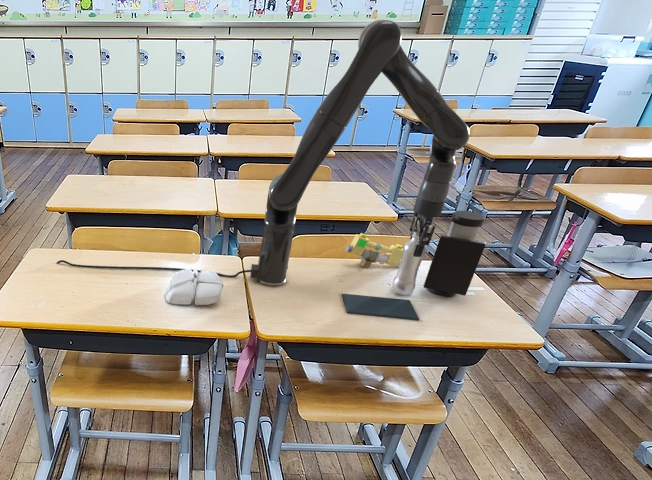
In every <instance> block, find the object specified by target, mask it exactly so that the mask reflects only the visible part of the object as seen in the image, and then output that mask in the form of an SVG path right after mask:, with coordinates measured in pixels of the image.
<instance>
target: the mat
mask: <svg viewBox="0 0 652 480" xmlns="http://www.w3.org/2000/svg"><path fill="white" fill-rule="evenodd" d="M341 297H342V299H343V303H344V307H345V311H346V313H347V314H353V315H363V316H370V317H371V316H372V317H381V318H391V319H400V320H401V319H402V320H412V321H419V320H420V318H419V316H418V314H417V312H416V310H415V308H414V306H413V304H412V302H411V301H410V299H403V298H395V297H394V298H393V297H383V296H371V295H361V294H351V293H342V294H341Z"/></svg>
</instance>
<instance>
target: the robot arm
mask: <svg viewBox="0 0 652 480" xmlns="http://www.w3.org/2000/svg"><path fill="white" fill-rule="evenodd" d="M401 42H402V29H401V28H400V25H398V23H397V22H395V21H393V20H389V19H378V20H374V21H372V22H370V23H368V24H367V25H365V27H364V28H363V29H362V30H361V32H360V34H359V37H358V41H357V49H358V50H357V52H356V54H355V56H354V57H353V59H352V61H351V63H350V65H349V67H348V68H347V70H346V71H345V73H344V75H343V76H342V77H341V78H340V79H339V81H338V82H337V83H336V85H334V86H333V88H332V89H331V90H330V91H329V93H328V94H327V95H326V96H325V98H324V99H323V100H322V102H321V103H320V104H319V106H318V107H317V109H316V110H315V112H314V113H313V116H312V117H311V119H310V120H309V122H308V124H307V126H306V128H305V130H304V132H303V135H302V137H301V139H300V141H299V144H298V147H297V148H296V152H295V154H294V156H293V158H292V160H291V162H289V164H288V165H287V167H286V169H285V171H284V172H282V173H280V174H279V173H278V174H277V175H276V176H274V178H273V179H272V180H271V182H270V183H269V187H268V192H267V199H266V207H265V214H264V223H263V231H262V237H261V242H260V243H261V244H260V249H259V254H258V255H259V256H258V261H257V264H256V263H255V264H254V263H251V266H250V269H244V270H240V271H238V272H237V273H235V274H232V275H229V274H227V275H226V274H223V273H220V272H216V273H217V275H218V276H219V277H223V278H237V277H238V276H239V275H241V274H245V273H250V278H251V279H255V280H256V281H255V282H256V283H257V284H262V285H265V286H269V287H279V286H282V285H285V283H286V280H287V273H288V269H289V261H290V255H291V250H292V244H293V238H294V235H295V234H294V233H295V227H296V219H297V210H298V206H299V203H300V201H301V199H302V197H303V195H304V193H305V191H306V189H307V187H308V185H309V183H310V182H311V180H312V178H313V176H314V175H315V173H316V171H318V168H319V167H320V166H321V164H322V163H323V162H324V161H325V159H326V158H327V157H328V155H329V154H330V152H331V151H332V149H333V148H334V147H335V145H336V143H338V141H339V140H340V138H341V137H342V135H343V134H344V132H345V130H346V128H347V127H348V125H349V123H350V122H351V120H352V119H353V117H354V116H355V114H356V113H357V111H358V109H359V107H360V106H361V103H362V102H363V100H364V99H365V96H366V95H367V93H368V91H369V90H370V88H371V87H372V85H373V84H374V82H375V81H376V80H377V79H378V77H379V76H380V75H381V74H383V75H384V77H385V78H386V79H387V80H388V81H389V82H390V83H391V85H392V86H393V87H394V88H395V89H396V91H397V92H398V94H399V95H400V96H401V98H402V99H403V101H404V102H405V103H406V105H407V106H408V108H410V110H411V111H412V113H413V114H414V115H415V116H416V118H417V119H418V120H419V122H420V123H422V124H423V126H426V127H427V128H428V129H429V131H430V132H431V133H432V139H431V144H430V150H429V159H428V164H427V166H426V169H425V172H424V176H423V178H422V181H421V184H420V186H419V189H418V192H417V195H416V199H415V203H414V206H413V209H412V211H413V216H412V220H411V222H410V227H409V232H410V238H409V240H410V239H412V234H413V232H414V230H417V233H416V236H417V237H418V239H417V244H416V247H415V250H414V253H413V255H414V257H421V256H422V253H423V250H424V247H425V245H426V246H429V245H430V243H431V241H432V237H433V234H434V233H435V229H436V225H433V223H434V218H435V217H438V216H441V214H442V212H443V209H444V206H445V204H446V200H447V197H448V194H449V191H450V187H451V182H452V180H453V176H454V173H455V170H456V166H457V162H456V159H455V158H456V157H455V156H456V151H458V150H460V149H463V148H464V147H465V146H466V145H467V143H468V142H469V140H470V135H471V133H470V128H469V126H468V125H467V124H466V122H465V121H464V120H463V119H462V118H461V116H459V114H458V113H456V112H455V111H454V110H453V108H451V106H450V105H449V104H448V102H447V100H446V99H445V97H444V96H443V95H442V94H441V92H440V91H439V90H438V88H437V87H436V86H435V85H434V83H432V81H431V80H430V79H429V78H428V77H427V76H426V75H425V74H424V73H423V72H422V71H421V70H420V68H418V67H417V66H416V65H415V64H414V62H412V61H411V59H410V58H409V57H408V55H407V53H406V52H405V51H404V49H403V48H402V45H401V44H402V43H401ZM421 233H422V234H421ZM424 238H425V239H424ZM423 239H424V241H423ZM60 263H64V264H65V265H69V266H70V267H76V268H88V269H90V268H92V269H111V270H112V269H113V270H114V269H115V270H116V269H118V270H161V271H164V270H165V271H177V272H178V271H180V270H184V269H185V268H181V267H180V268H179V267H164V266H163V267H162V266H118V265H117V266H112V265H109V266H108V265H91V264H89V265H88V264H75V263H72V262H69V261H66V260H63V259H60V260H58V261H56V263H55V264H56V265H59V264H60ZM191 270H192V272H193V270H194V269H192V268H191ZM197 271H198V273H200V272H201V271H202V269H201V270H200V269H197Z"/></svg>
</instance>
